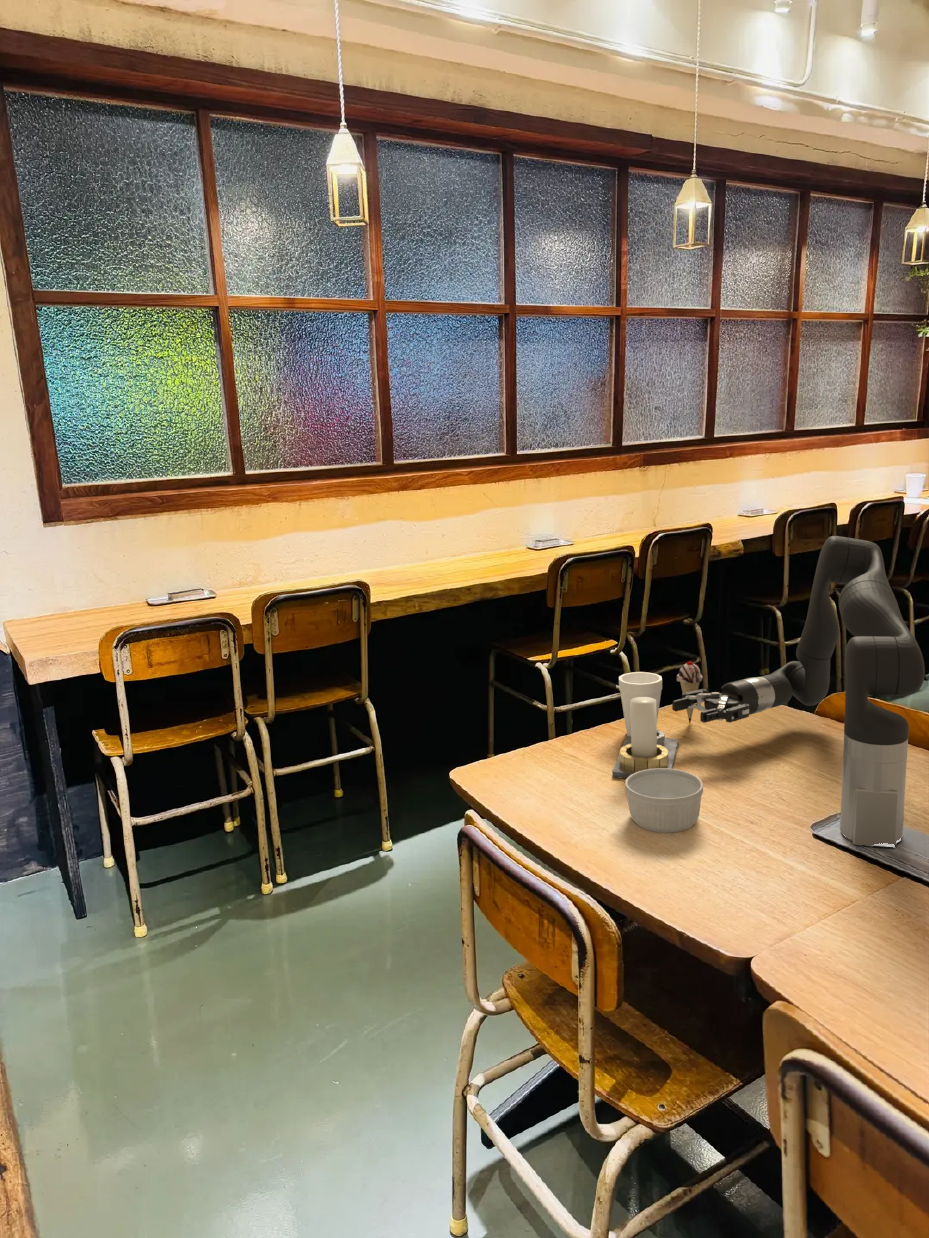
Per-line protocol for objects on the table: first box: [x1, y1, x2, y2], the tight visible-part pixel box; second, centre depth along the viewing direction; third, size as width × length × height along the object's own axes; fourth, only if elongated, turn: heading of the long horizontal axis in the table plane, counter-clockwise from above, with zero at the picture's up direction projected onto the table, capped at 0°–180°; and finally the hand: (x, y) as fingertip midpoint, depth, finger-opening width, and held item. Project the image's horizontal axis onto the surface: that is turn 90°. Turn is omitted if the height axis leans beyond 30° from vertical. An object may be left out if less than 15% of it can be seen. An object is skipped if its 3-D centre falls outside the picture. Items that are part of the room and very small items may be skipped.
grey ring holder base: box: [611, 729, 679, 780], centre depth 173 cm, size 20×11×4 cm, turn 161°
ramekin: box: [624, 768, 704, 834], centre depth 147 cm, size 13×13×7 cm
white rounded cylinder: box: [630, 697, 658, 758], centre depth 168 cm, size 5×5×13 cm
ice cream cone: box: [676, 660, 704, 724], centre depth 191 cm, size 6×6×15 cm
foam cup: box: [618, 671, 663, 736], centre depth 187 cm, size 10×9×13 cm
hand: (687, 711), depth 172 cm, fingers open, 8 cm apart
